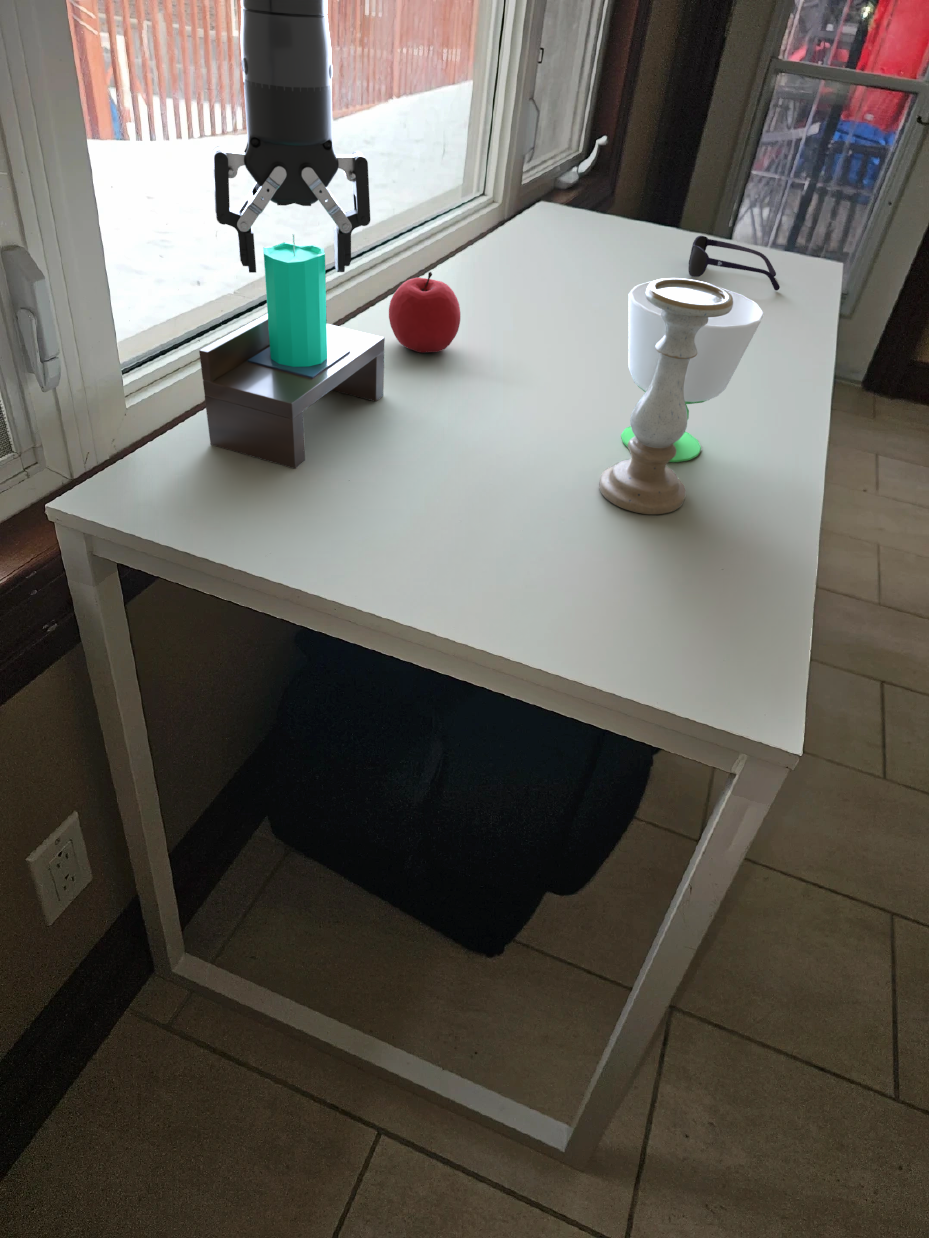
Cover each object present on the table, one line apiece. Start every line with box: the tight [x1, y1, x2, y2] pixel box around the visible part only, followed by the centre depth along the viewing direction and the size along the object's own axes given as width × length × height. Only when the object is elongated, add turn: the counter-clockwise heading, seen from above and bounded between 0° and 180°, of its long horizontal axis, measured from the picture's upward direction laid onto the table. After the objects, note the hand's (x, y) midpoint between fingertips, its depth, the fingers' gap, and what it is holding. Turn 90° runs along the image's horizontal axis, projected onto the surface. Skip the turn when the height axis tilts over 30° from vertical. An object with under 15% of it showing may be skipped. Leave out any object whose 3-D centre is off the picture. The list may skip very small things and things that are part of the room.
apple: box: [388, 271, 461, 354], centre depth 108 cm, size 9×9×10 cm
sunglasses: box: [688, 235, 781, 291], centre depth 145 cm, size 14×16×5 cm
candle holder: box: [598, 277, 733, 515], centre depth 79 cm, size 9×9×20 cm
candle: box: [262, 233, 328, 367], centre depth 84 cm, size 6×6×12 cm
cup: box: [620, 280, 765, 463], centre depth 90 cm, size 14×14×16 cm
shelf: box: [198, 312, 385, 469], centre depth 89 cm, size 20×10×10 cm, turn 158°
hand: (296, 270), depth 82 cm, fingers open, 8 cm apart
